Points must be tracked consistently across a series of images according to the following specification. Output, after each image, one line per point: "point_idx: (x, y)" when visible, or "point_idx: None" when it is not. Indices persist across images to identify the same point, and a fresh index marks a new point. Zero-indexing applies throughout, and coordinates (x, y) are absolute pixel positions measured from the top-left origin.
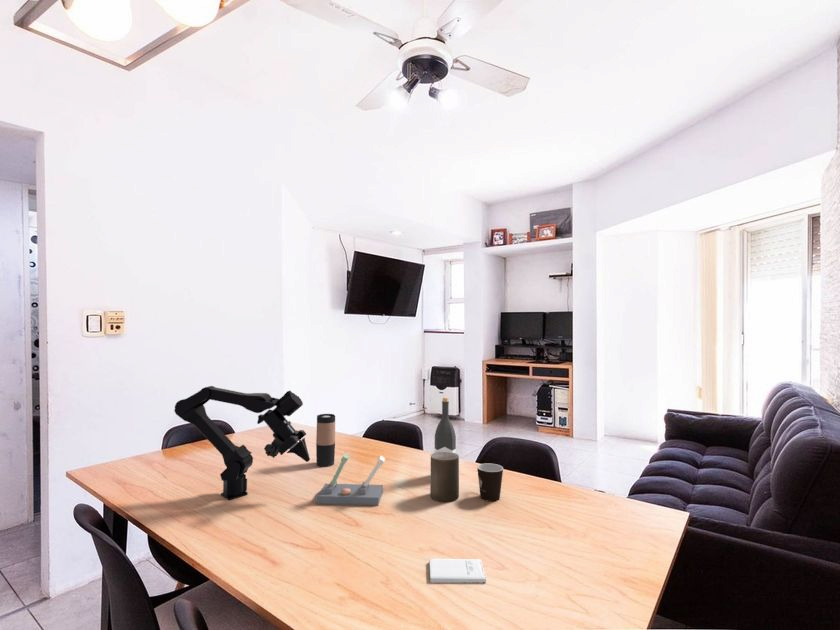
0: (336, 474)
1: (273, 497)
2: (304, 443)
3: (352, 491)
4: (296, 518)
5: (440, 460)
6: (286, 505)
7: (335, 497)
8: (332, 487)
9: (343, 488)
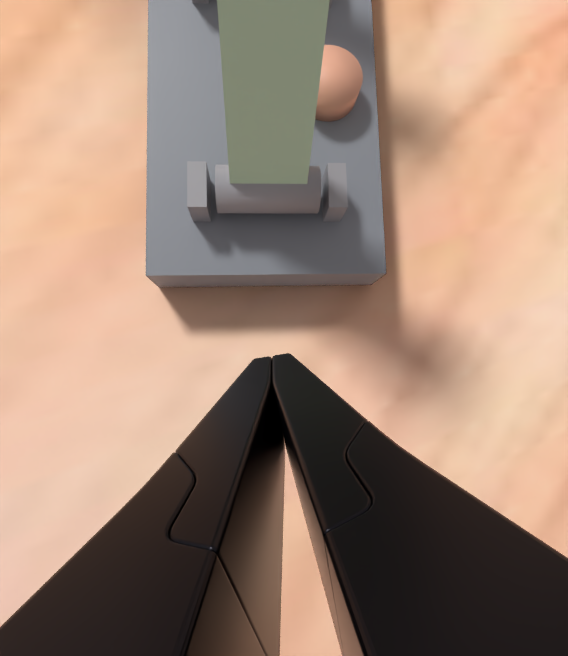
0: (317, 76)
1: (299, 605)
2: (212, 589)
3: None
4: (563, 335)
5: None
6: None
7: (376, 151)
8: (318, 166)
9: None
